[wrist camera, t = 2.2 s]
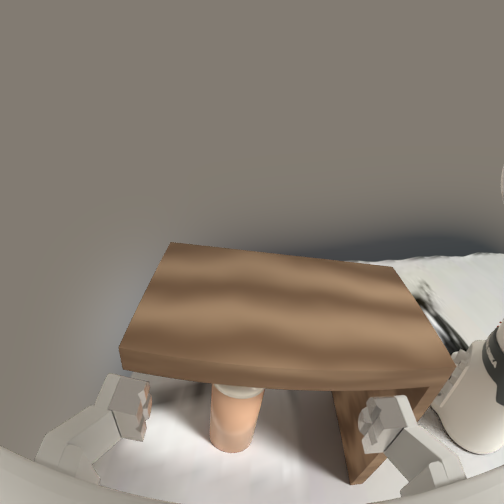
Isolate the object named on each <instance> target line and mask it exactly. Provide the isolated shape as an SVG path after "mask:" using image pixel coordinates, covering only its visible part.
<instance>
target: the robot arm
mask: <svg viewBox="0 0 504 504" xmlns="http://www.w3.org/2000/svg"><path fill="white" fill-rule="evenodd" d="M501 192H502V198H503V202H504V166H503V170H502V175H501ZM500 323H501V325H500V326H497V328H496V329H495V330H494V331H493V332H492V333H491V334H490V335H489V337H488V339H487V340H477V341H474V342H472V344H471V345H470V347H469V348H468V350H467V352H465V351H463V350H459V352H454V353H453V354H452V355H451V358H452V359H453V361H454V363H455V365H456V366H457V367H456V368H455V370H454V371H453V373H452V374H451V376H450V377H449V379H448V380H447V382H446V383H445V385H444V386H443V388H442V389H441V391H440V392H439V394H438V395H437V396H436V398H435V399H434V401H433V402H432V403H431V407H432V408H433V409H434V410H435V411H436V412H437V413H438V415H439V417H440V419H441V422H442V424H443V426H444V428H445V430H446V431H447V433H448V434H449V436H450V437H451V438H452V439H453V440H454V441H455V442H456V443H457V444H458V445H460V446H461V447H462V448H464V449H466V450H468V451H470V452H473V453H477V454H490V453H493V452H495V451H497V450H499V449H500V448H501V447H502V446H503V445H504V319H503V321H502V322H500ZM149 389H150V385H149V382H148V381H143V380H138V379H134V378H129V377H125V376H121V375H116V374H111V373H109V374H108V375H107V376H106V378H105V381H104V383H103V385H102V388H101V390H100V392H99V395H98V397H97V400H96V402H95V404H94V406H89V407H87V408H86V409H84V410H82V411H81V412H79V413H78V414H76V415H75V416H73V417H72V418H70V419H68V420H67V421H65V422H64V423H62V424H61V425H59V426H58V427H56V428H54V429H53V430H51V431H50V432H48V433H47V434H45V436H44V439H43V441H42V443H41V445H40V448H39V450H38V452H37V455H36V457H35V459H34V461H32V460H29V459H27V458H25V457H23V456H21V455H19V454H17V453H14V452H12V451H10V450H8V449H6V448H4V447H2V446H0V504H180V503H174V502H168V501H162V500H157V499H152V498H147V497H143V496H138V495H134V494H130V493H126V492H122V491H118V490H114V489H110V488H107V487H103V486H100V485H99V482H100V477H99V476H98V474H97V473H96V471H95V470H94V468H93V466H92V464H93V463H95V462H96V461H97V460H98V459H99V458H100V457H101V456H102V455H104V454H105V453H106V452H107V451H108V450H109V449H110V448H111V447H113V446H114V445H115V444H116V443H117V442H118V441H119V440H120V439H121V438H126V439H131V440H136V441H141V442H143V440H144V436H145V432H146V429H147V427H146V422H145V421H146V420H147V419H149V417H150V413H151V406H152V397H151V394H150V393H149ZM366 405H367V407H365V408H364V409H362V410H361V412H360V414H359V418H358V428H359V431H360V432H361V433H362V434H363V435H364V437H363V439H362V444H363V448H364V452H365V454H370V453H382V452H384V454H385V456H386V457H387V458H388V459H389V460H390V461H391V462H392V463H393V465H394V466H395V467H396V468H397V469H398V470H399V471H400V472H401V473H402V475H403V476H404V477H405V478H406V479H407V480H408V481H409V483H408V484H407V485H405V486H404V487H403V488H402V489H401V490H400V494H401V498H396V499H391V500H386V501H380V502H374V503H368V504H504V465H502V466H500V467H497V468H495V469H492V470H490V471H487V472H485V473H482V474H479V475H477V476H474V477H471V478H468V479H467V478H466V475H465V472H464V470H463V467H462V464H461V462H460V459H459V457H458V455H457V454H456V453H454V452H453V451H452V450H451V449H449V448H448V447H447V446H446V445H444V444H443V443H442V442H441V441H439V440H438V439H437V438H436V437H435V436H433V435H432V434H431V433H430V432H428V431H427V430H426V429H425V428H423V427H422V426H418V424H417V421H416V419H415V416H414V414H413V411H412V409H411V406H410V404H409V401H408V399H407V397H406V396H405V395H398V396H379V397H370V398H369V399H368V400H367V402H366Z"/></svg>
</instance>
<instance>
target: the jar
mask: <svg viewBox="0 0 504 504" xmlns="http://www.w3.org/2000/svg"><path fill="white" fill-rule="evenodd" d="M264 391H265V388H253V387H241V386H230V385H221V384H212V394H211V412H210V431H209V437H210V440H211V442H212V444H213V445H214V446H215V447H216V448H217V449H219V450H221V451H223V452H227V453H237V452H241V451H243V450H245V449H246V448H247V447H248V446H249V445H250V444H251V441H252V438H253V434H254V430H255V426H256V422H257V419H258V415H259V411H260V407H261V403H262V399H263V395H264Z"/></svg>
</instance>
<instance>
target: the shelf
mask: <svg viewBox="0 0 504 504" xmlns="http://www.w3.org/2000/svg"><path fill="white" fill-rule="evenodd" d="M119 352H120V357H121V363H122V367H123V369H124V370H129V371H134V372H139V373H144V374H150V375H156V376H162V377H168V378H174V379H181V380H188V381H196V382H204V383H212V384H221V385H230V386H241V387H253V388H267V389H284V390H312V391H332V395H333V399H334V404H335V409H336V414H337V418H338V423H339V428H340V433H341V438H342V443H343V449H344V454H345V459H346V464H347V470H348V475H349V481H350V485H355V484H362V483H363V482H364V481H365V480H366V479H367V478H368V477H369V476H370V475H371V474H372V473H373V472H374V471H375V470H376V469H377V468H378V467H379V466H380V465H381V464H382V463H383V462H384V461H385V460H386V458H387V457H386V456H385V454H384V452H382V453H370V454H365V452H364V448H363V444H362V439H363V437H364V435H363V434H362V433H361V432H360V431H359V428H358V418H359V414H360V412H361V410H362V409H364V408H365V407H367V405H366V402H367V400H368V399H369V398H370V397H379V396H398V395H405V396H406V397H407V399H408V401H409V404H410V406H411V409H412V411H413V414H414V416H415V419H416V421H417V422H418V421H419V419H420V418H421V417H422V415H423V414H424V413H425V411H426V410H427V409H428V407H429V406H430V405H431V403H432V402H433V401H434V399H435V398H436V396H437V395H438V394H439V392H440V391H441V389H442V388H443V386H444V385H445V383H446V382H447V380H448V379H449V377H450V376H451V374H452V373H453V371H454V370H455V368H456V367H457V366H456V365H455V363H454V361H453V359H452V358H451V356H450V354H449V353H448V351H447V349H446V348H445V346H444V344H443V343H442V341H441V339H440V338H439V336H438V335H437V333H436V331H435V330H434V328H433V327H432V325H431V323H430V322H429V320H428V319H427V317H426V316H425V314H424V313H423V311H422V309H421V308H420V306H419V305H418V303H417V302H416V300H415V299H414V297H413V296H412V294H411V293H410V291H409V290H408V289H407V287H406V286H405V284H404V283H403V281H402V280H401V278H400V277H399V276H398V274H397V273H396V271H395V270H394V268H393V267H388V266H380V265H371V264H362V263H353V262H344V261H334V260H326V259H317V258H308V257H299V256H290V255H281V254H272V253H264V252H255V251H246V250H237V249H227V248H219V247H210V246H200V245H192V244H183V243H174V242H171V243H170V245H169V246H168V248H167V250H166V252H165V254H164V256H163V258H162V260H161V262H160V263H159V266H158V268H157V269H156V271H155V273H154V275H153V277H152V279H151V281H150V283H149V285H148V287H147V289H146V291H145V293H144V295H143V297H142V299H141V301H140V303H139V305H138V307H137V310H136V311H135V313H134V316H133V318H132V320H131V322H130V324H129V326H128V328H127V330H126V332H125V335H124V337H123V339H122V341H121V343H120V345H119Z"/></svg>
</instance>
